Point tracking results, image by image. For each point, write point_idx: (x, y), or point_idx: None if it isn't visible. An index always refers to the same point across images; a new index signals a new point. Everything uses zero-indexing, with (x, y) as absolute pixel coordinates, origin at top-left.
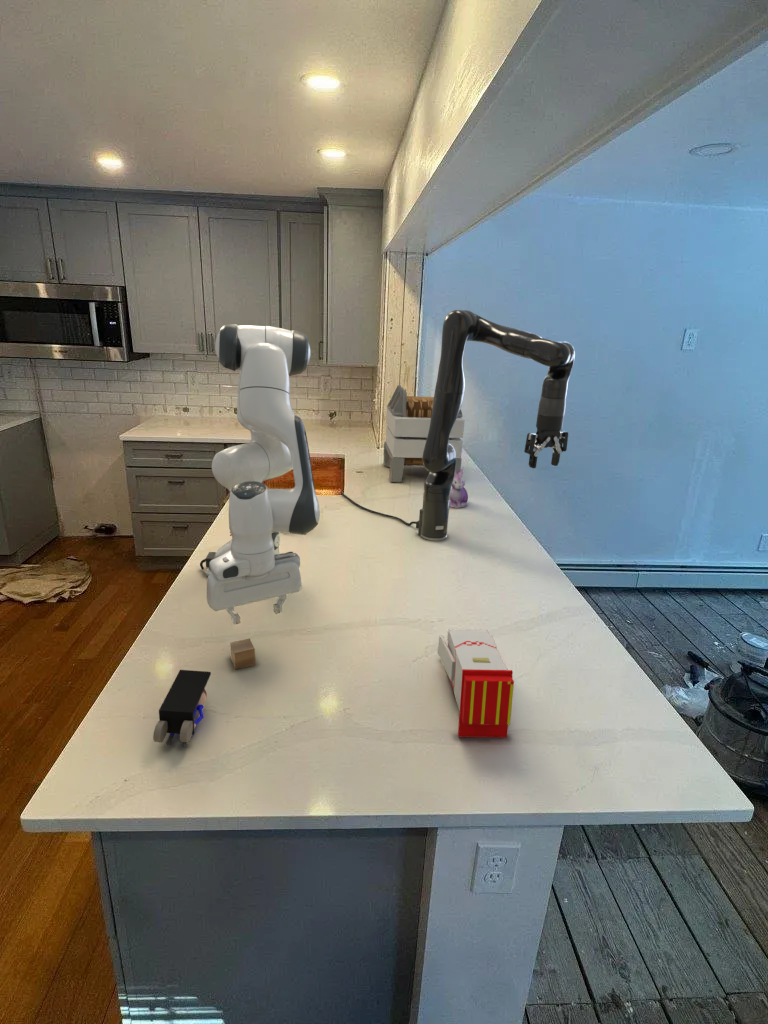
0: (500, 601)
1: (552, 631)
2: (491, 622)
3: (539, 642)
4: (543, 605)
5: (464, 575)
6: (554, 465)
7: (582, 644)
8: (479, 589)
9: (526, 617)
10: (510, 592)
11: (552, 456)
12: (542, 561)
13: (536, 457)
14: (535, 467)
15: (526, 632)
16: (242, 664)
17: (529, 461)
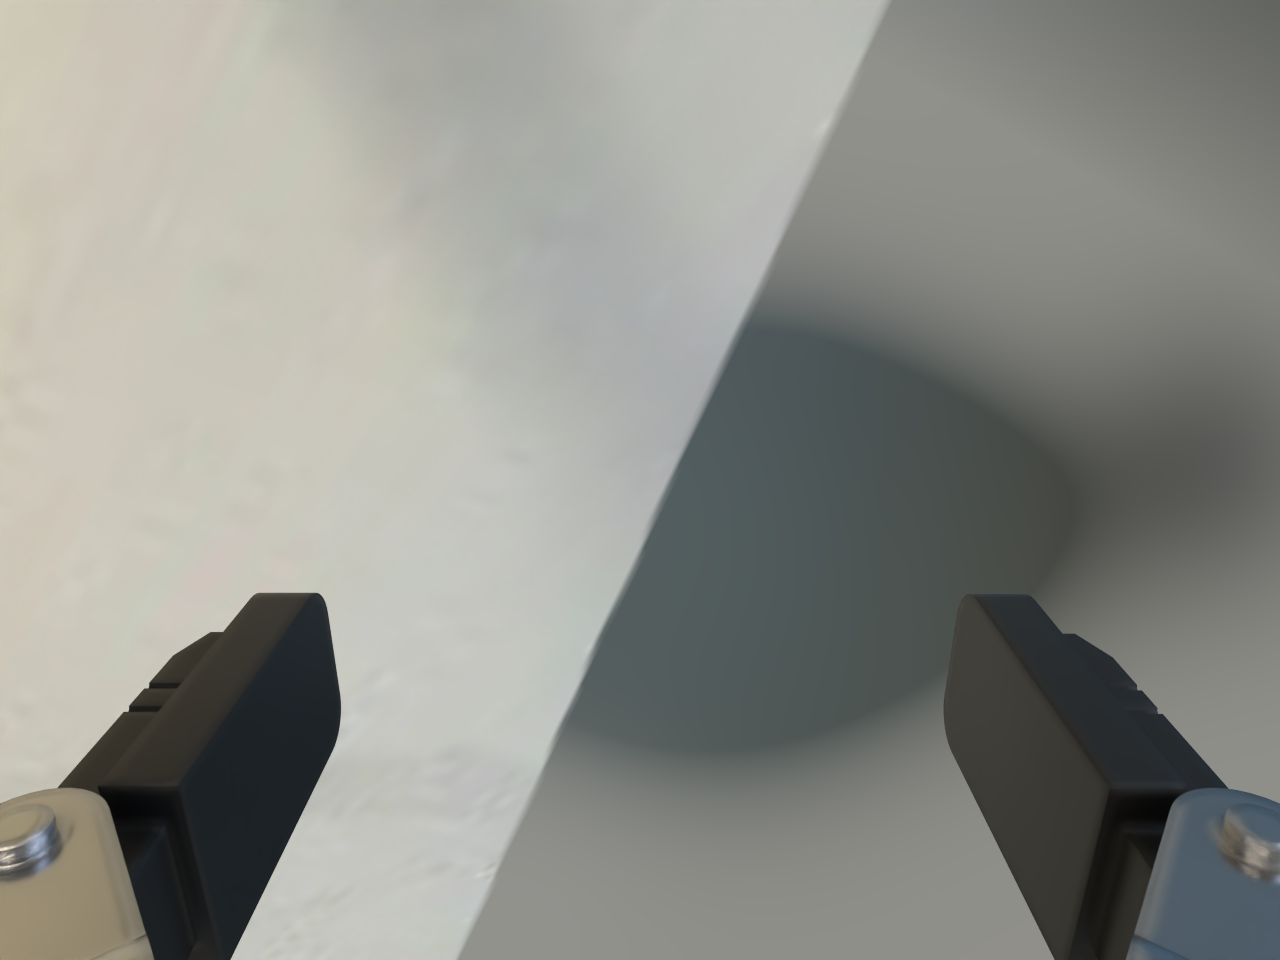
0: (168, 606)
1: None
2: (35, 733)
3: None
4: (366, 705)
5: (89, 275)
6: (945, 691)
7: (332, 952)
8: (110, 463)
9: None
10: (272, 551)
11: (1051, 716)
12: (735, 292)
13: (206, 943)
14: (325, 739)
15: None
16: None
17: (140, 716)
